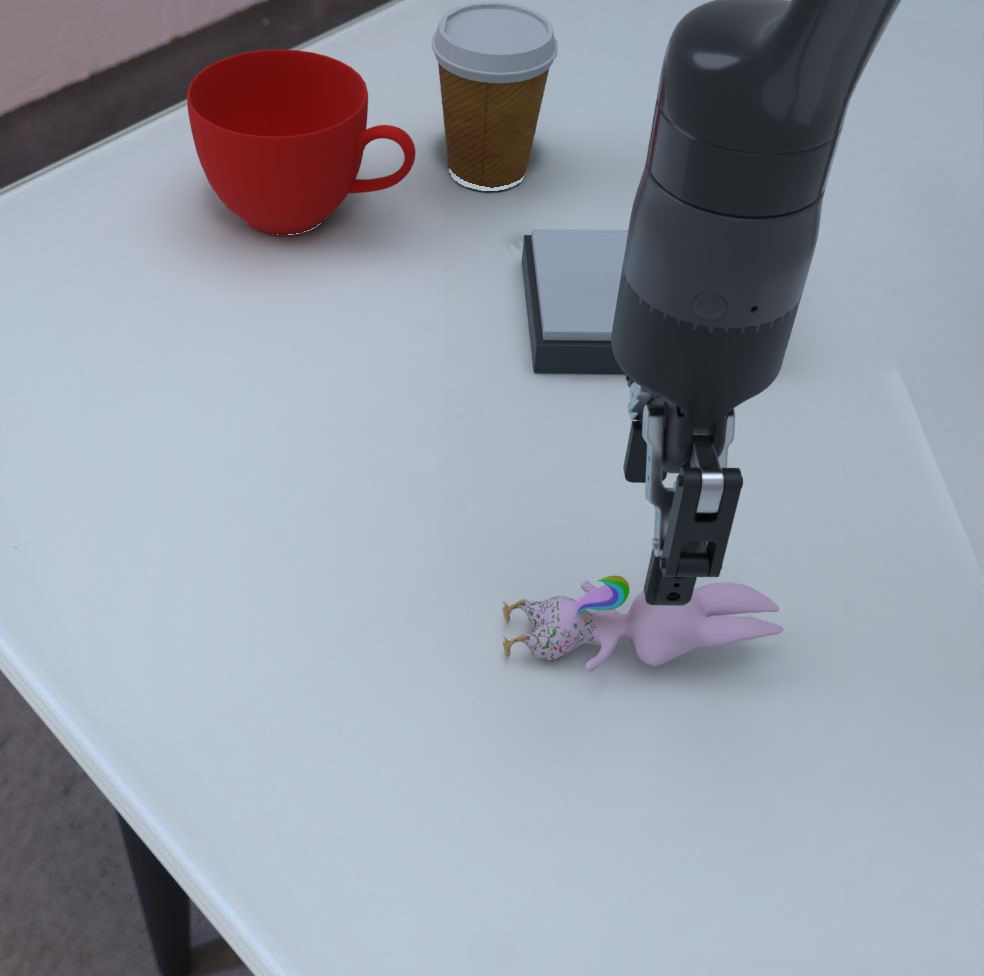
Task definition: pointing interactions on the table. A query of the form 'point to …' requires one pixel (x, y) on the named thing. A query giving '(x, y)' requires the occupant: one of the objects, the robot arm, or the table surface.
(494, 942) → the table surface
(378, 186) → the ceramic cup
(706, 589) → the rabbit figure
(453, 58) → the disposable coffee cup
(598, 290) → the scale
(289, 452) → the table surface
